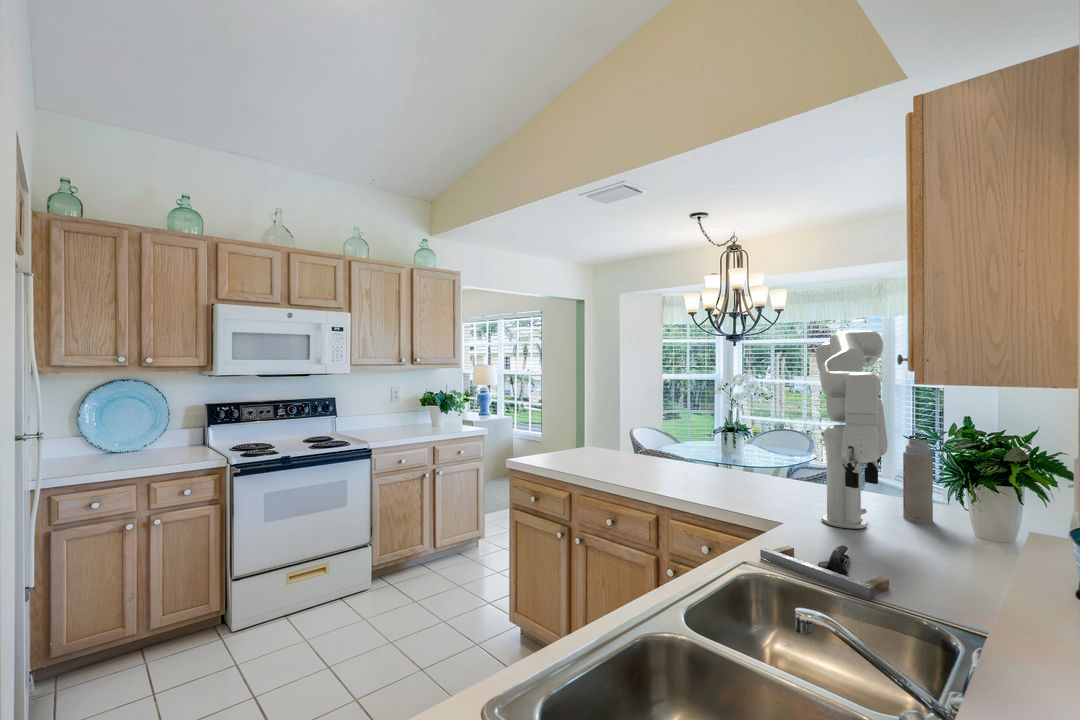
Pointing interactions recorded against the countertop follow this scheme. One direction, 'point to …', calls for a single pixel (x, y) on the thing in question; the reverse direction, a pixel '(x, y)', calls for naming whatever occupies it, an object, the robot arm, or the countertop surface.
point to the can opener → (837, 561)
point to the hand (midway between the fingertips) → (861, 485)
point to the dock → (825, 574)
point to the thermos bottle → (918, 482)
